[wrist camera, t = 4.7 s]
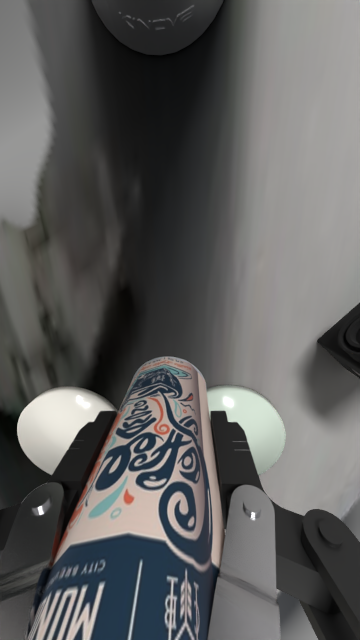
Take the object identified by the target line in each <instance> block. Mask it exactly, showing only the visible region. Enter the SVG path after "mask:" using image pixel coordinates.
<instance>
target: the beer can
mask: <svg viewBox="0 0 360 640" xmlns="http://www.w3.org/2000/svg"><path fill="white" fill-rule="evenodd" d="M224 541H225V532H224V524H223V516H222V509H221V501H220V493H219V485H218V477H217V470H216V462H215V454H214V446H213V438H212V431H211V423H210V415H209V407H208V399H207V387H206V382H205V379H204V377H203V375H202V374H201V372H200V371H199V370H198V369H197V368H196V367H195V366H194V365H193V364H191V363H189V362H188V361H186V360H183V359H180V358H177V357H159V358H154V359H152V360H150V361H148V362H146V363H145V364H143V365H142V366H141V367H140V368H139V369H138V370H137V372H136V373H135V375H134V377H133V379H132V382H131V384H130V386H129V389H128V391H127V393H126V395H125V398H124V400H123V402H122V404H121V407H120V409H119V411H118V413H117V416H116V418H115V420H114V422H113V425H112V427H111V429H110V431H109V434H108V436H107V438H106V440H105V443H104V445H103V447H102V449H101V452H100V454H99V456H98V458H97V461H96V463H95V465H94V467H93V470H92V472H91V474H90V476H89V479H88V481H87V483H86V485H85V488H84V490H83V492H82V494H81V497H80V499H79V501H78V503H77V506H76V508H75V510H74V512H73V515H72V517H71V519H70V521H69V524H68V526H67V528H66V530H65V533H64V535H63V537H62V539H61V542H60V544H59V547H58V550H57V553H56V556H55V558H54V561H53V564H52V567H51V570H50V573H49V576H48V579H47V582H46V585H45V588H44V591H43V594H42V597H41V600H40V603H39V606H38V609H37V612H36V615H35V618H34V621H33V624H32V627H31V630H30V632H29V635H28V638H27V640H207V639H208V633H209V626H210V620H211V614H212V607H213V601H214V595H215V588H216V583H217V578H218V574H219V572H220V567H221V561H222V554H223V548H224Z"/></svg>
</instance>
